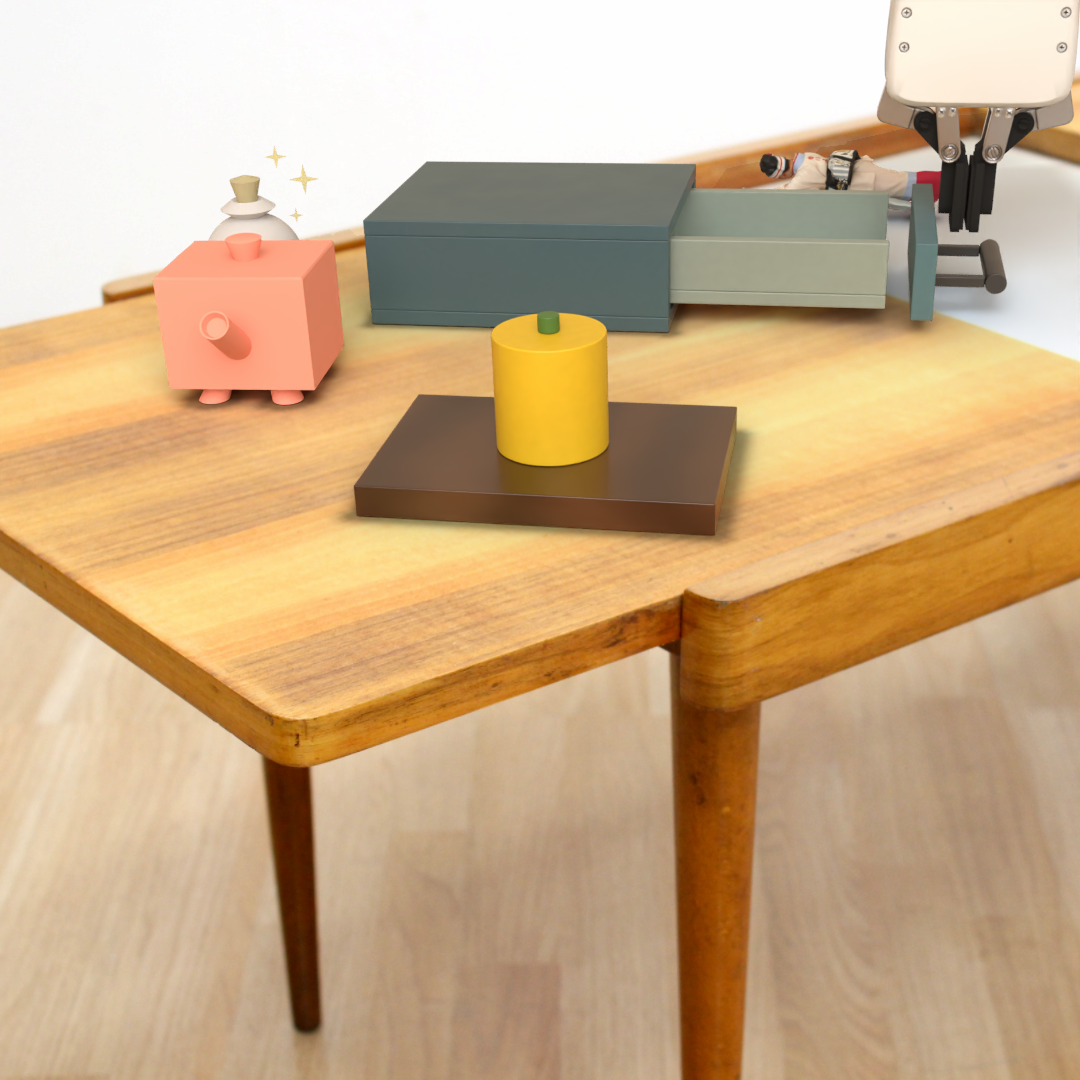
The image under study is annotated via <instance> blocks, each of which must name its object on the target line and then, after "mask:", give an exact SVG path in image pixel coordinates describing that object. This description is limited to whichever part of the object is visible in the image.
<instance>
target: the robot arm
mask: <svg viewBox="0 0 1080 1080" xmlns="http://www.w3.org/2000/svg"><path fill="white" fill-rule="evenodd" d="M886 28H887V29H886V38H885V50H884V77H885V82H884V85H883V89H882V92H881V94H880V98H879V101H878V105H877V109H876V117H877V119H878V121H880V123H883V124H888V125H890V126H894V127H898V128H902V129H905V130H912V131H915V132H917V134H919V135H920V136H921V138H922V139H923V140H924V141H925V142H926V143H927V144H928V145H929V146H930V147H931V148H932V149H933V151H935V153H936V154H937V155H938V156H939V158H940V160H941V167H940V171H941V177H940V189H939V199H938V203H937V213H938V214H941V215H942V214H943V215H948V227H949V233H960V231H963V230H965V231H968V233H969V234H971V233H972V234H973V233H975V234H977V233H979V232H980V231H979V230H980V220H981V215H985V216H986V215H989V216H991V215H992V213H993V208H994V207H993V206H994V199H995V198H994V196H995V187H996V176H997V166H998V163H999V162H1001V161H1002V160H1003V158H1004V156H1005V154H1007V153H1008V152H1009V151H1010V150H1011V149H1013V148H1014V147H1015V146H1016V145H1017V144H1018V143H1020V141H1022V140H1023V139H1024V138H1025V137H1026V136H1027V135H1029V134H1030V133H1032V132H1037V131H1043V130H1048V129H1049V130H1050V129H1052V128H1057V127H1063V126H1066V125H1069V124H1070V123H1071V122H1073V120H1074V118H1075V117H1074V116H1075V111H1074V105H1073V97H1072V87H1073V83H1074V79H1075V72H1076V64H1077V55H1078V43H1079V30H1080V0H890V2H889V10H888V19H887V27H886ZM933 108H935V109H934V110H935V111H934V110H933ZM959 108H968V109H970V108H972V109H975V108H976V109H978V108H984V109H985V108H987V111H986V112H987V113H986V116H985V120H984V123H983V128H982V133H981V135H980V139H979V141H977V142H976V143H975V144H974V150H973V151H972V154H969V158H968V154H966V153H967V149H966V144H965V143H964V142H963V141H962V140H961V132H960V115H959Z"/></svg>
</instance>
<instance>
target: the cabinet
mask: <svg viewBox="0 0 1080 1080" xmlns="http://www.w3.org/2000/svg"><path fill="white" fill-rule="evenodd" d="M696 177H697V164H696V163H635V162H634V163H633V162H631V163H630V162H626V163H624V162H537V161H536V162H535V161H533V162H532V161H525V162H524V161H521V162H520V161H519V162H518V161H435V160H434V161H432V160H431V161H426V162H424V163H423V164H422V165H421V166H420V167H419V168H418V169H417V170H416V171H415V172H413V174H412V175H410V176H409V177H408V178H407V179H406V180H405V181H404V182H402V184H400V186H399V187H398V188H396V190H394V191H393V192H392V193H391V194H389V196H387V198H386V199H385V200H384V201H382V202H381V203H380V204H379V205H377V207H376V208H375V209H373V211H371V212H370V213H369V214H368V215H367V216H366V217H365V218H364V219H363V220H362V224H363V234H364V235H363V236H364V247H365V258H366V268H367V279H368V280H367V281H368V290H369V291H368V293H369V303H370V311H371V313H370V314H371V322H372V324H377V325H378V324H380V325H406V326H410V325H411V326H412V325H413V326H437V327H438V326H441V327H442V326H443V327H474V328H476V327H477V328H495V327H496V326H498V325H499V324H501V323H503V322H505V321H507V320H510V319H513V318H517V317H521V316H526V315H532V314H538V313H540V312H544V311H554V312H557V313H568V314H576V315H582V316H586V317H590V318H593V319H595V320H597V321H599V322H601V323H602V324H603V325H604V326H605V327H606V329H607V332H634V333H635V332H637V333H639V332H640V333H641V332H642V333H669V332H670V329H671V327H672V324H673V321H674V318H675V317H676V314H677V310H678V308H679V305H680V303H670V236H671V234H672V231H673V229H674V227H675V224H676V222H677V220H678V217H679V215H680V213H681V210H682V208H683V206H684V203H685V201H686V199H687V196H688V194H689V192H690V190H691V188H697V178H696Z"/></svg>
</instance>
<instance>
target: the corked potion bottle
mask: <svg viewBox="0 0 1080 1080" xmlns="http://www.w3.org/2000/svg"><path fill="white" fill-rule="evenodd" d="M264 158H266V159H271V160H273V161H274V162H273V163H274V164H275V168H276V169H278V160H280V159H283V158H287V156H286V155H281V154H278V152H277V150H276V146H275V145H273V153H272V155H269V156H264ZM316 180H318V178H317V177H310V176H307V174H306V171H305V168H304V165H303V164H302V165H301V173H300V176H299V177H294V178H290V179H289V181H294V182H299V183H301V184H302V188H303V191H304V194H305V195H306V193H307V183H309V182H312V181H316ZM260 181H261V178H260V177H259V176H256V175H247V174H243V175H239V176H236V177H233V178H230V179H229V181H228V182H229V183H230V186H231V188H232V189H231V190H232V191H233V193H234V196H235V197H233V198H231V199H230V200H229V201H228V202H227V203H225V204H224V205H223V206H221V207H220V212H221V213H222V214H223V213H224V214H225V215H228V216H229V217H227V218H225V219H224V220H222V221H221V222H220V223H219V224H217V226H216V227H215V228H214V230H213V231H212V232H211V234H210V236H209V237H208V240H207V241H225V239H226V238H227V237H229V236H231V235H234V234H238V233H255V234H259V235H261V237H262V238H261V240H300V238H299V237H298V234H297V233H296V232H295V231H294V229H293V228H292V227H291V226H290V225H289V224H288V223H286V222H285V221H284V220H282V219H281V218H279V217H277V216H275V215H273V214H270V213H269V212H270V211H272V210H274V209H275V208H276V206H277V205H276V203H275V202H274V201H271V200H269V199H267V198H265V197H263V196H262V195H258V194H259V188H260V183H261V182H260ZM288 216H289V217H294V219H295V221H296V222H298V220H299V219H298V217H302V216H304V214H300V213H298V211H297V208H296V207H295V208H294V214H293V213H292V214H290V215H288Z"/></svg>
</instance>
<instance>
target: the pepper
mask: <svg viewBox="0 0 1080 1080" xmlns="http://www.w3.org/2000/svg"><path fill="white" fill-rule="evenodd" d="M490 344H491V346H490V347H491V361H492V362H491V365H492V382H493V383H492V384H493V397H494V402H495V420H496V439H497V448H498V450H499V452H500V453H501V454H502V455H503V456H505V457H506V458H508V459H510V460H512V461H515V462H518V463H522V464H527V465H533V466H564V465H571V464H576V463H581V462H584V461H587V460H590V459H592V458H595V457H597V456H598V455H600V454H601V453H603V452H604V451H605V450H606V448H607V446H608V444H609V414H608V402H609V369H608V368H609V367H608V365H609V364H608V363H609V361H608V331H607V329H606V327H605V326H604V325H603V324H602V323H601V322H599V321H597V320H595V319H593V318H590V317H586V316H582V315H576V314H568V313H557V312H554V311H544V312H540V313H538V314H532V315H526V316H521V317H517V318H513V319H510V320H507V321H505V322H503V323H501V324H499V325H498V326H496V327H493V329H492V331H491V333H490Z"/></svg>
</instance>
